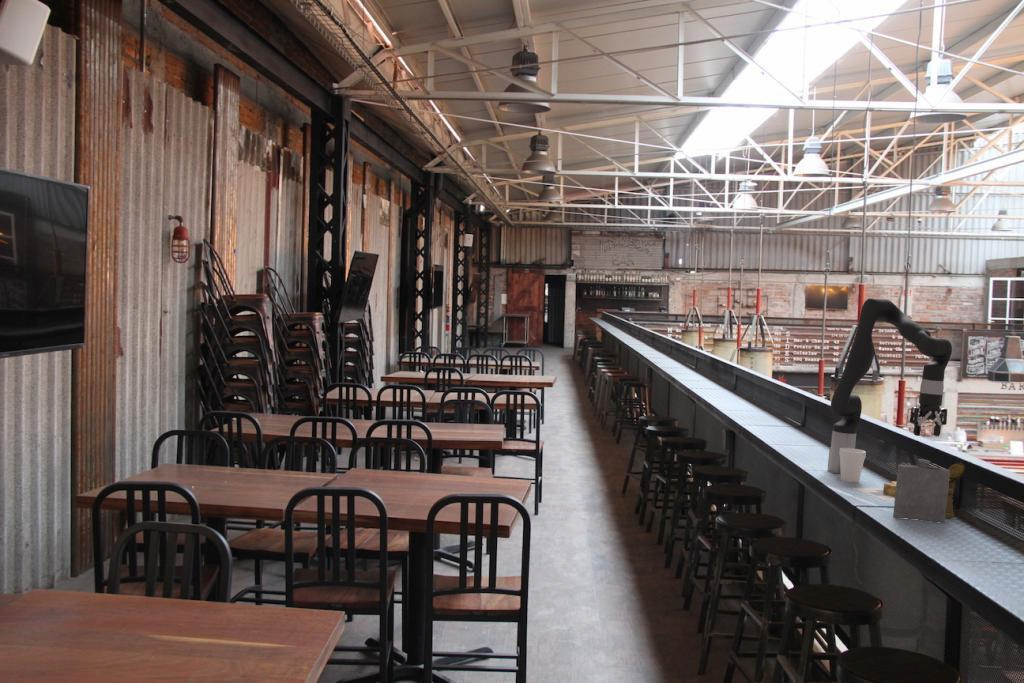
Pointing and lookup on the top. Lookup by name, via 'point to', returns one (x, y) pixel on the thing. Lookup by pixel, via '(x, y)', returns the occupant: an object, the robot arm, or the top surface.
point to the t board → (876, 493)
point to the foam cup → (851, 464)
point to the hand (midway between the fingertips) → (926, 435)
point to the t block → (890, 488)
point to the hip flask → (921, 492)
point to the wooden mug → (953, 485)
